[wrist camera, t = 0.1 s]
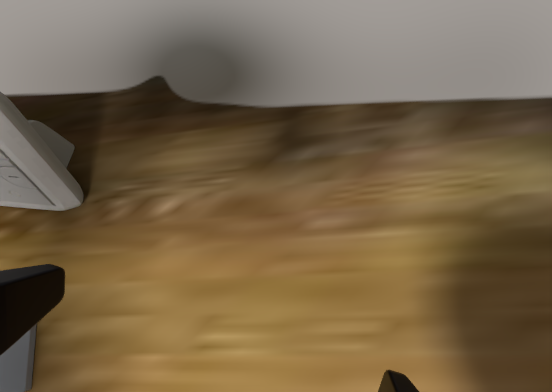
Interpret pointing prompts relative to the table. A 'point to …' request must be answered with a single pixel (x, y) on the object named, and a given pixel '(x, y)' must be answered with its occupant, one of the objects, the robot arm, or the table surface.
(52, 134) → the digital clock
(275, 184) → the table surface
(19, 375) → the scale strip
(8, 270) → the robot arm
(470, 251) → the table surface
